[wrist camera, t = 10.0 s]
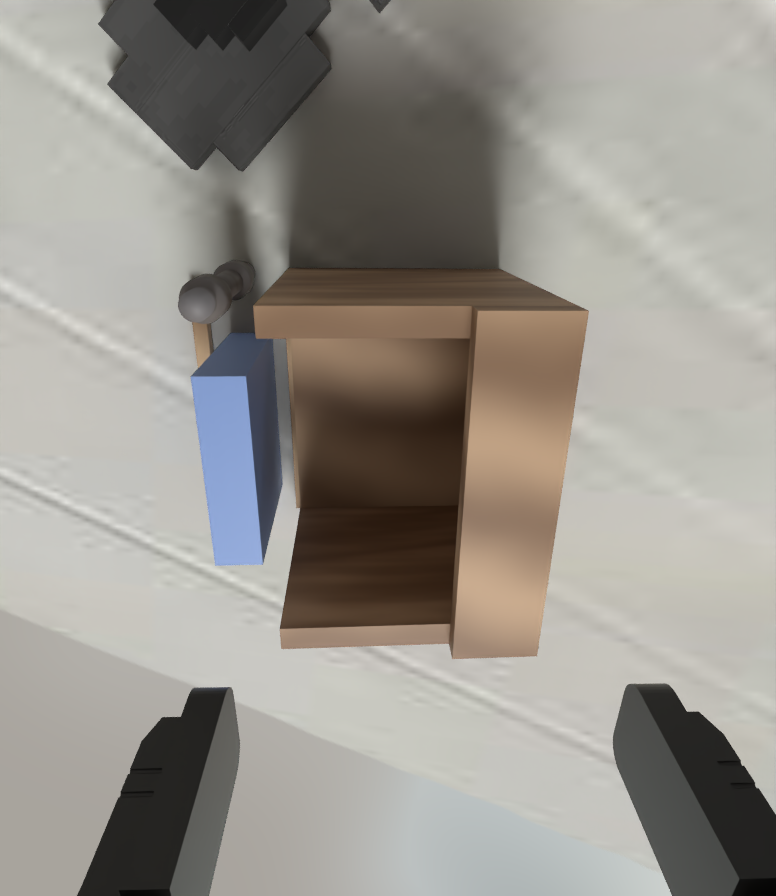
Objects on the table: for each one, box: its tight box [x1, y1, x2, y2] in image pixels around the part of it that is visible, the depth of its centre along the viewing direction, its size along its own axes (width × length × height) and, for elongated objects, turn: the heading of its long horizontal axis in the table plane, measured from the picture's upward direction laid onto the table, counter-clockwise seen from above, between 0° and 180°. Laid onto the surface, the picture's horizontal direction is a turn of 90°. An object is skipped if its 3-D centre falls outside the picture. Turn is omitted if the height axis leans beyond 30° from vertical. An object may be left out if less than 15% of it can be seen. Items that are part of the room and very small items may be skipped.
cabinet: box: [178, 260, 589, 659], centre depth 29 cm, size 17×18×14 cm
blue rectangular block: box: [191, 333, 282, 566], centre depth 31 cm, size 10×2×9 cm, turn 179°
